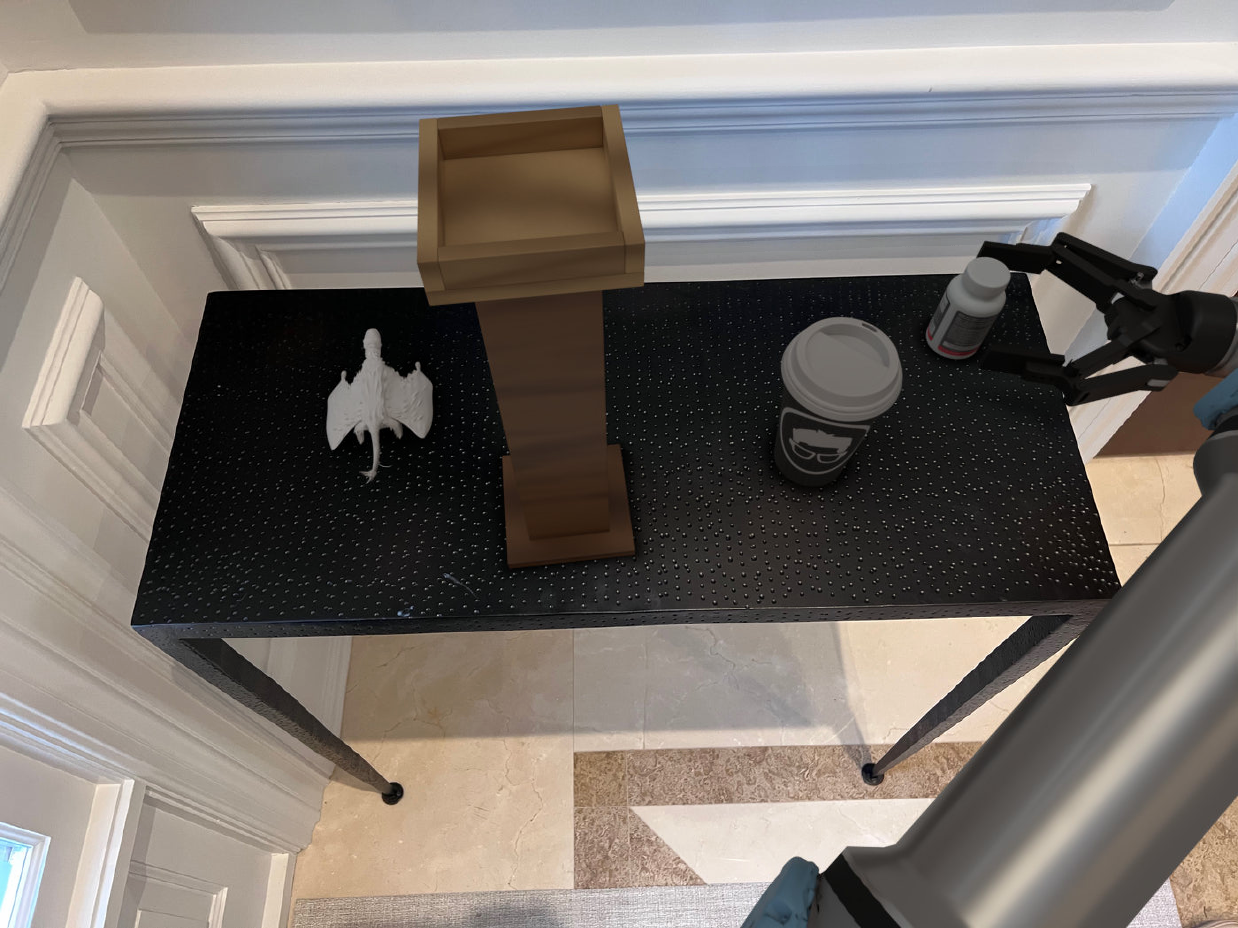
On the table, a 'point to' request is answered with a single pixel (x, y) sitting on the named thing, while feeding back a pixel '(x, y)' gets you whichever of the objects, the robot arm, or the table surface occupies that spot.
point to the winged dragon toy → (379, 401)
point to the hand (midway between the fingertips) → (981, 302)
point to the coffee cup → (832, 396)
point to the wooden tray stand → (539, 304)
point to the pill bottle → (968, 308)
